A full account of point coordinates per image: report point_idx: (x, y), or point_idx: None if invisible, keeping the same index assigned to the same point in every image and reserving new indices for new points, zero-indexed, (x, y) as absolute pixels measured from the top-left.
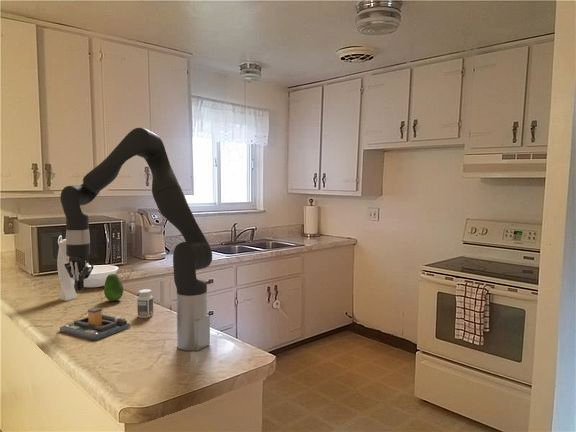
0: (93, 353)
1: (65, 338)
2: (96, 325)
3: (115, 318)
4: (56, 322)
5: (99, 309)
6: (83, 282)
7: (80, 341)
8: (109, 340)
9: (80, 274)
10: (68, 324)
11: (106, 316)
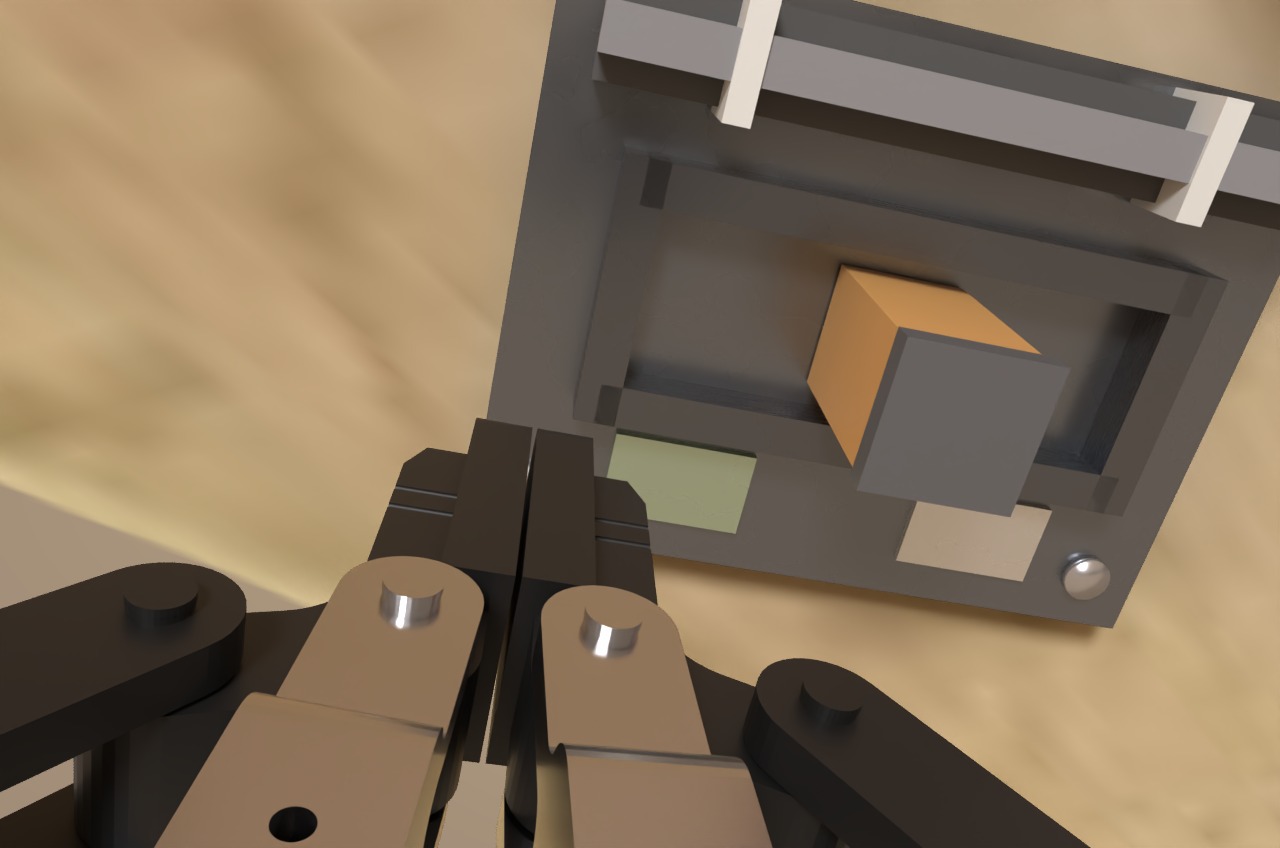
0: (1232, 804)
1: (716, 630)
2: None
3: (1192, 222)
4: (101, 239)
5: (1048, 413)
6: (655, 595)
7: (935, 645)
8: (1235, 543)
9: (447, 731)
10: (491, 414)
11: (953, 129)
